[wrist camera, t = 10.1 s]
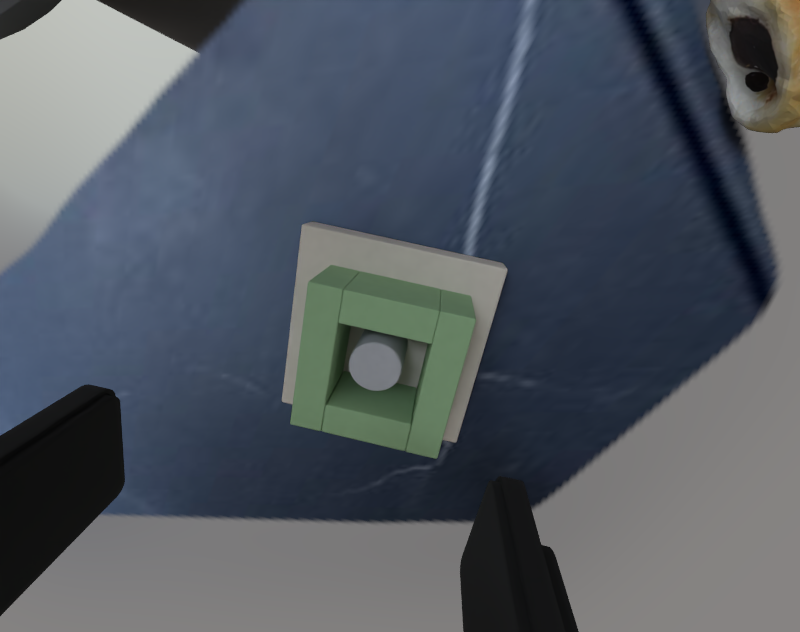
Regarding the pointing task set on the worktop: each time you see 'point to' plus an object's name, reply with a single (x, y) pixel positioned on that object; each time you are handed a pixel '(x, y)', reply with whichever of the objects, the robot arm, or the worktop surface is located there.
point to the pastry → (758, 60)
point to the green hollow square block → (391, 314)
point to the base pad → (402, 269)
